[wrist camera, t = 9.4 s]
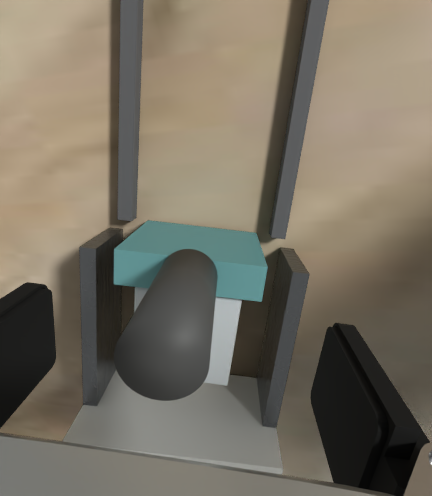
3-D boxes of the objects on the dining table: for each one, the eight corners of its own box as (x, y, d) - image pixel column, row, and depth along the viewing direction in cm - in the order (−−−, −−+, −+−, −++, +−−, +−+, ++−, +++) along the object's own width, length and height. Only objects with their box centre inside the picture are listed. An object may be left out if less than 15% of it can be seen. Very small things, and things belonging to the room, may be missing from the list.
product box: (155, 314, 26) (127, 375, 19) (160, 244, 24) (132, 283, 17) (228, 324, 26) (228, 388, 19) (239, 255, 24) (243, 298, 17)
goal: (293, 248, 23) (324, 296, 16) (266, 388, 27) (280, 480, 20) (109, 227, 24) (52, 264, 16) (108, 369, 27) (62, 453, 20)
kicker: (257, 226, 23) (298, 335, 9) (251, 264, 23) (280, 414, 10) (148, 213, 23) (31, 303, 9) (146, 252, 24) (37, 386, 10)
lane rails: (349, -137, 17) (358, -158, 16) (282, 234, 23) (285, 239, 22) (130, -161, 17) (122, -184, 16) (123, 216, 23) (117, 219, 22)
